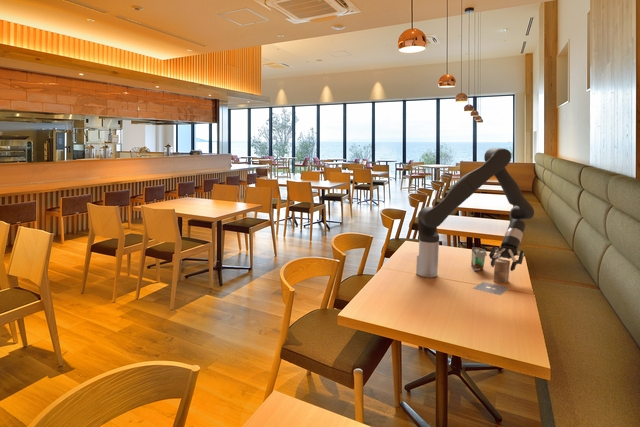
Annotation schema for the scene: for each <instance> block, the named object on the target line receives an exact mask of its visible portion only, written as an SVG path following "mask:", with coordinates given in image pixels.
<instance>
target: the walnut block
mask: <svg viewBox="0 0 640 427" xmlns="http://www.w3.org/2000/svg"><path fill="white" fill-rule="evenodd" d="M493 268H494V270H493V282H494V283H498V284H503V285H506V284H507V283H508V282H509V279H510V278H509V276H510V268H511V260H509V259H504V258H503V259H501V258H500V259H497V260H496V261H495V265H494V267H493Z"/></svg>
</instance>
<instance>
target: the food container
mask: <svg viewBox="0 0 640 427" xmlns="http://www.w3.org/2000/svg"><path fill="white" fill-rule="evenodd" d="M487 256H488V255H487V251H486V250H485V249H484V248H480V247H475V246H474V247H471V261H470V262H471V265H470V266H471V268H472V270H473V272H475V273H476V272H483V270H484V266H485V259H486V257H487Z"/></svg>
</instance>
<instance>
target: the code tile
mask: <svg viewBox="0 0 640 427" xmlns="http://www.w3.org/2000/svg"><path fill="white" fill-rule="evenodd" d="M472 289H473V290H477V291H480V292H481V291H482V292H486V293H489V294H494V295H497V296H502V295H503V294H504V293H505V292H507V291H508V290H510V287H508V286H503V285H499V284H495V283H491V282H485V281H482V282H481V283H479V284H477V285H476V286H474V287H473V288H472Z"/></svg>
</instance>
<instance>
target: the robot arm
mask: <svg viewBox="0 0 640 427" xmlns="http://www.w3.org/2000/svg"><path fill="white" fill-rule="evenodd" d="M483 157H484V159H483V160H484V163H483V164H482V165H481V166H479V167H478V168H476V169H474V170H472V171H470V172H468V173H466V174H464V175H462V176H461V177H460V178H459V179H458V180H457V181H456V182H454V183H453V185H452V186H451V187H450V188H449V190H448V192H447V193H446V195H445V197H444V198H443V199H442V200H441V201H440V202H439V203H438V204H437V205H434V207H432V206H425V207H423V208H422V209H420V211H419V214H418V218H417V221H418V223H417V226H418V228H417V232H418V235H419V236H418V238H419V241H418V254H417V255H416V266H415V267H416V268H415V272H416V273H415V274H416V275H418V276H420V277H422V278H429V279H430V278H436V277H437V276H438V268H439V250H440V248H439V247H440V235H439V232H438V227H439V226H440V225H441V224H442V223H443V222H444V221H445V220H446V219H447V218H448V217H449V216H450V215H451V214H452V212H454V211H455V210H457V208H458V207H460V205H462V204H463V203H464V202H465V201H467V200H468V199H469V198H470V197H471V196H472V195H473V194H475V192H477V190H479V189H480V188H481V187H482V186H484V184H486V183H487V182H488V181H489V180H490V179H491V178H492V177H493V176H494V177H495V178H496V181H497V182H498V183H499V185H500V188H501V189H502V191H503V193H504V195H505V198H506V200H507V201H508V204H510V205H513V207H511V209H510V211H509V223H508V224H509V225H508V227H507V229H506V232H505V233H504V235H503V239H502V242H501V244H500V246H499V247H497V246H496V245H493V246H492V248H491V250H490V253H489V254H488V256H489V258H490V260H491V261H490V266H491V268H495V261H496V260H498V259H501V258H503V259H507V260H510V259H511V260H512V263H511V264H510V267H509V271H511V272H513V271H515V269H516V267H517V265H522V263H523V260H524V256H525V253H524V250H519V247H520V245H521V242H522V239H523V234H524V231H525V229H526V222H524V220H531V219H532V218H534V216H535V210H534V208H533V206H532V204H531V203H530V202H529V201H528V200H527V199H526V198H525V196H524V195H523V193H522V190H521V188H520V186H519V184H518V183H517V182H516V181H515V179H514V177H512V175H511V174H510V173H509V172H508V171H507V168H506V167H507V166H508V165H509V164H510V163H511V160H512V153H511V151H510V150H509V149H506V148H503V147H491V148H488V149H487V150H486V151H485V152H484V156H483ZM517 255H518V259H516V257H515V256H517Z"/></svg>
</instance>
